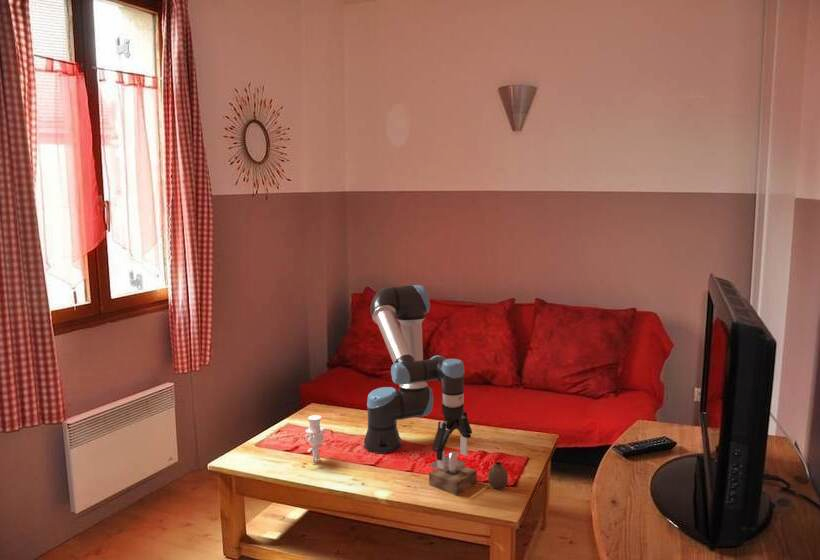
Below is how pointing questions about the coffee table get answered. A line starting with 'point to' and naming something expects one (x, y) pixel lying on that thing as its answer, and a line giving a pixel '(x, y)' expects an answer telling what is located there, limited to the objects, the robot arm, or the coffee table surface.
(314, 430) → the figurine
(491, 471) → the vase
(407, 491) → the coffee table surface
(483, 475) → the coffee table surface
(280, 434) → the coffee table surface
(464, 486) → the block
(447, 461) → the mat
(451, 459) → the peg
